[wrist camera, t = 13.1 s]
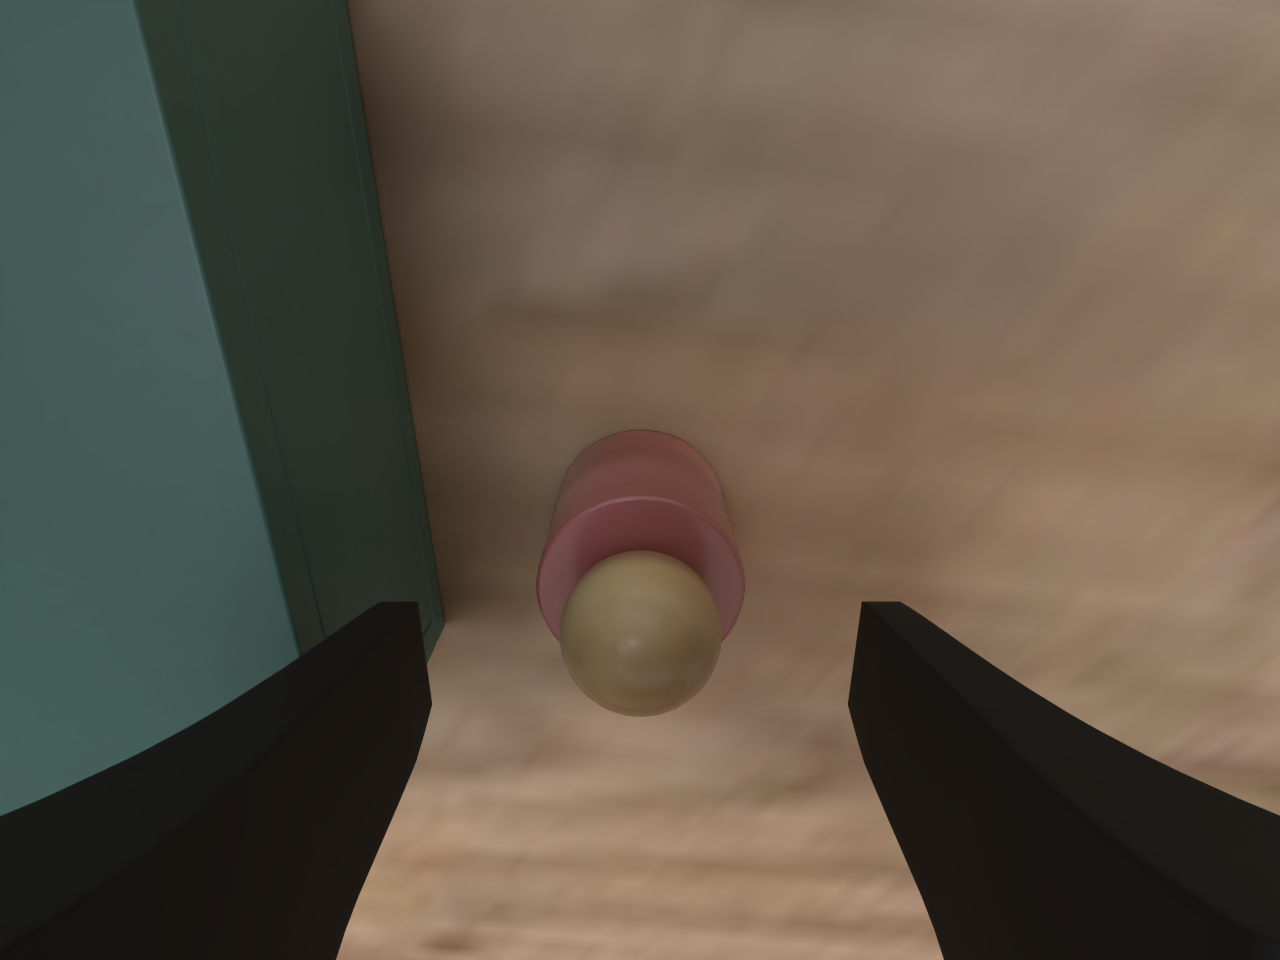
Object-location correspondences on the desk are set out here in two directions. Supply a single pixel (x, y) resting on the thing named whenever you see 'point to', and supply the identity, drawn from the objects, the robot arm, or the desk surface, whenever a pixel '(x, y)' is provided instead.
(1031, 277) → the desk surface
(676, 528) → the doll
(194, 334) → the cabinet
